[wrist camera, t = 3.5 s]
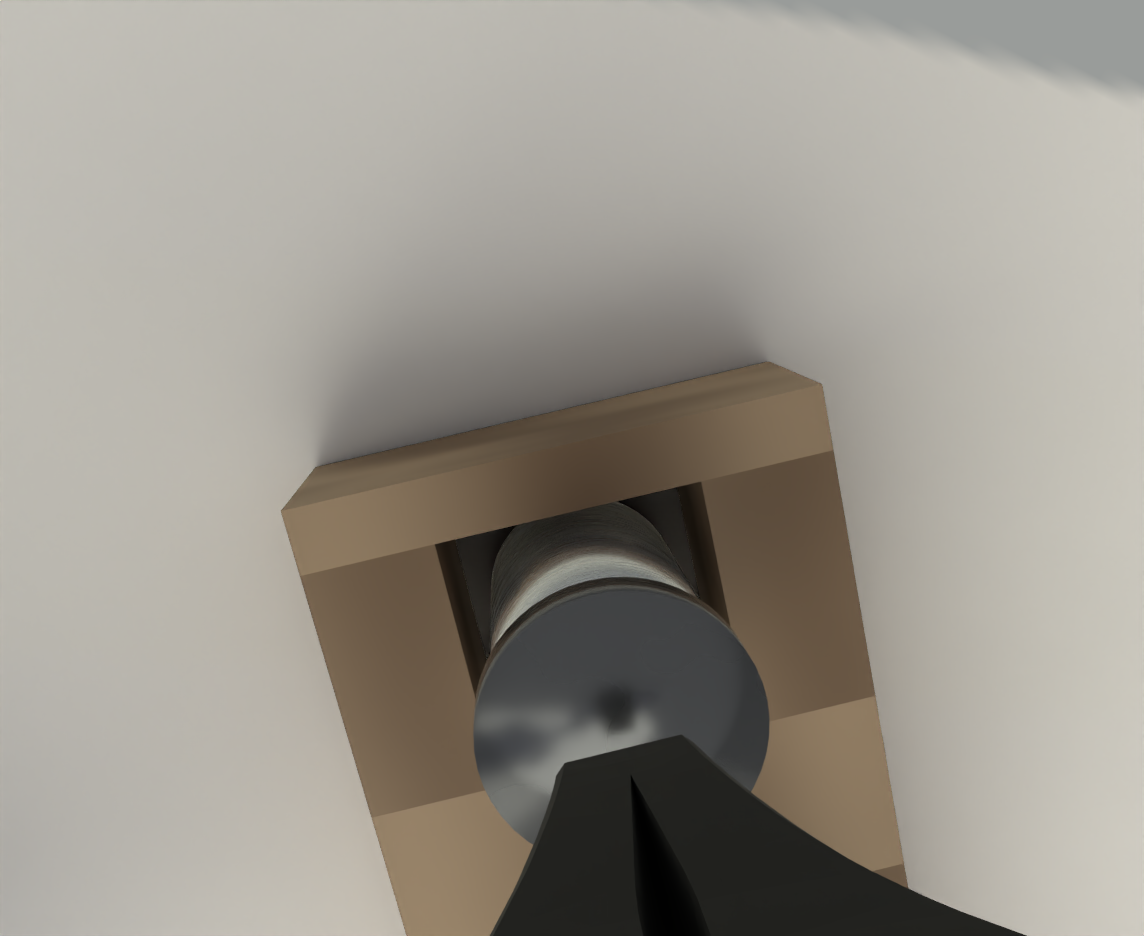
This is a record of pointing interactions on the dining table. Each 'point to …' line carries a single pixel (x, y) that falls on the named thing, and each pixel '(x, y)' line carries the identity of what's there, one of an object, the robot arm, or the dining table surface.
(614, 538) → the plunger
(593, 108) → the dining table surface
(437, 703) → the jig
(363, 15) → the dining table surface
